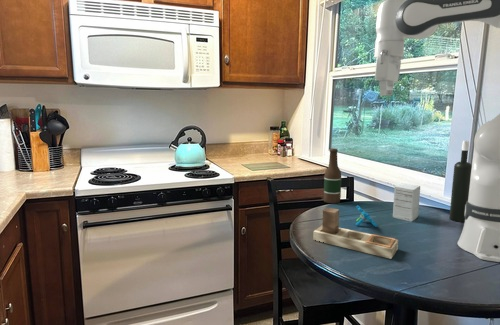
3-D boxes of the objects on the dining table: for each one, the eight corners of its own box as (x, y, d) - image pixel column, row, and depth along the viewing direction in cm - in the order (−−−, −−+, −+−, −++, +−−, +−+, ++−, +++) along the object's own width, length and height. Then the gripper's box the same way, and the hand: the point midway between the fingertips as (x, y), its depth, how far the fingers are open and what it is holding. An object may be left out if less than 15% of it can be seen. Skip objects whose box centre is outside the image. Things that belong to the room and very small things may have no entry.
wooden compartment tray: (397, 249, 106) (398, 238, 105) (391, 258, 99) (392, 248, 99) (323, 232, 120) (323, 223, 119) (313, 240, 113) (313, 230, 113)
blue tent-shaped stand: (381, 227, 119) (360, 206, 120) (368, 238, 120) (347, 217, 121) (376, 220, 130) (357, 201, 131) (364, 231, 131) (345, 211, 132)
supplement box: (399, 213, 139) (401, 182, 137) (418, 217, 134) (421, 185, 132) (391, 217, 134) (393, 186, 132) (411, 222, 129) (414, 189, 126)
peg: (338, 238, 115) (339, 209, 113) (333, 242, 111) (334, 212, 110) (326, 235, 117) (327, 207, 115) (322, 239, 114) (322, 210, 112)
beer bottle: (321, 199, 160) (322, 147, 155) (337, 198, 160) (339, 147, 156) (326, 204, 152) (327, 150, 148) (343, 203, 153) (345, 149, 148)
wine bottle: (463, 223, 127) (471, 142, 121) (446, 219, 131) (454, 141, 126) (469, 219, 130) (477, 141, 125) (452, 216, 135) (460, 139, 129)
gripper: (393, 47, 101) (390, 95, 104) (404, 54, 118) (401, 95, 121) (371, 49, 105) (368, 95, 107) (384, 55, 122) (382, 95, 124)
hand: (386, 95), depth 114 cm, fingers open, 8 cm apart
